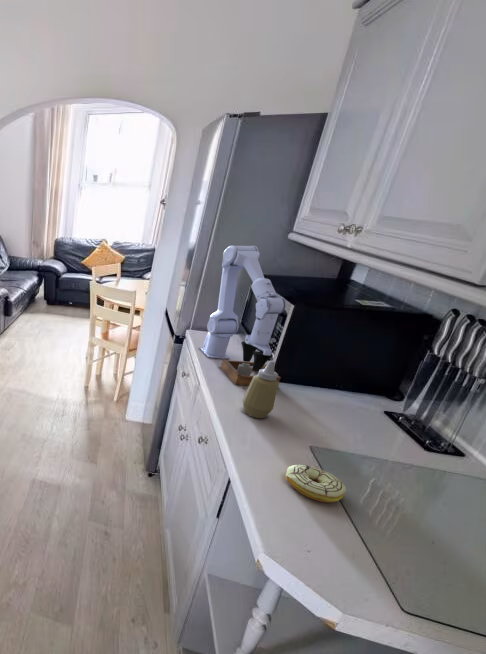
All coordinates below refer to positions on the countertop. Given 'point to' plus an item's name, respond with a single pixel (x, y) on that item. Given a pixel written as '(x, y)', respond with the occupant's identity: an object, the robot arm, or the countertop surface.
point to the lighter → (245, 369)
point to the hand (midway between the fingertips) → (251, 365)
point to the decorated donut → (315, 483)
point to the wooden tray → (234, 375)
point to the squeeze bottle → (261, 392)
